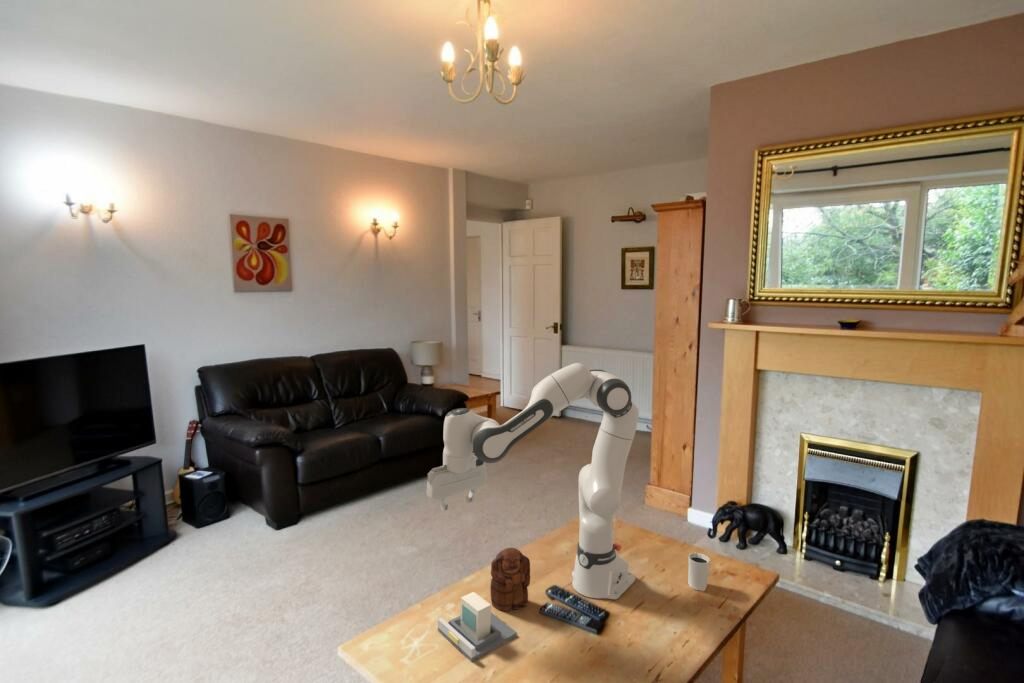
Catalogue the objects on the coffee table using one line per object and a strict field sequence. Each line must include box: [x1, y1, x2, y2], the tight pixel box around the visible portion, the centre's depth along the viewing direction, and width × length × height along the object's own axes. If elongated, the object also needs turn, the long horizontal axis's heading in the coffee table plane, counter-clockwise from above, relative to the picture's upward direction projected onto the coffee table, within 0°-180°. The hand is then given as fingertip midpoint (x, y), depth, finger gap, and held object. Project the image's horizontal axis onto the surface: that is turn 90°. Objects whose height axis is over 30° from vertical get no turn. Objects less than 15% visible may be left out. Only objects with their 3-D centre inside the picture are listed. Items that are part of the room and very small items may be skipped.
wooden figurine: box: [490, 547, 531, 612], centre depth 161 cm, size 12×6×18 cm, turn 110°
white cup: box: [687, 552, 711, 590], centre depth 174 cm, size 7×7×10 cm
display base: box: [437, 612, 518, 662], centre depth 149 cm, size 16×16×4 cm
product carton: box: [460, 591, 492, 642], centre depth 148 cm, size 5×8×9 cm, turn 41°
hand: (457, 505), depth 160 cm, fingers open, 8 cm apart
